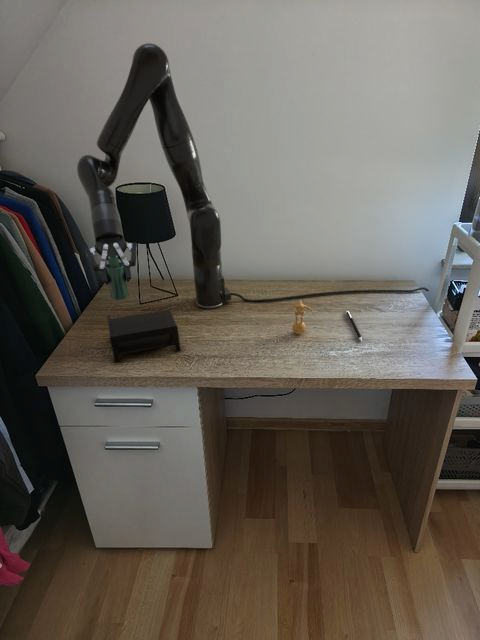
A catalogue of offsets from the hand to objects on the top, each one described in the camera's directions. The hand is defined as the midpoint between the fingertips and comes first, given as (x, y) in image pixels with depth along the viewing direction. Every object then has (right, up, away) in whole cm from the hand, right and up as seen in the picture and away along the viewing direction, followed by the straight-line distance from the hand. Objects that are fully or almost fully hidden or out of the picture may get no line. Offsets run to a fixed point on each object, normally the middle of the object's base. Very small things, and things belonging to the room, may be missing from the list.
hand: (117, 281), depth 128 cm
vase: (-1, -3, +4) cm, 5 cm away
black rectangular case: (+5, -17, +11) cm, 21 cm away
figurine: (+49, -14, +15) cm, 54 cm away
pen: (+66, -10, +19) cm, 70 cm away
